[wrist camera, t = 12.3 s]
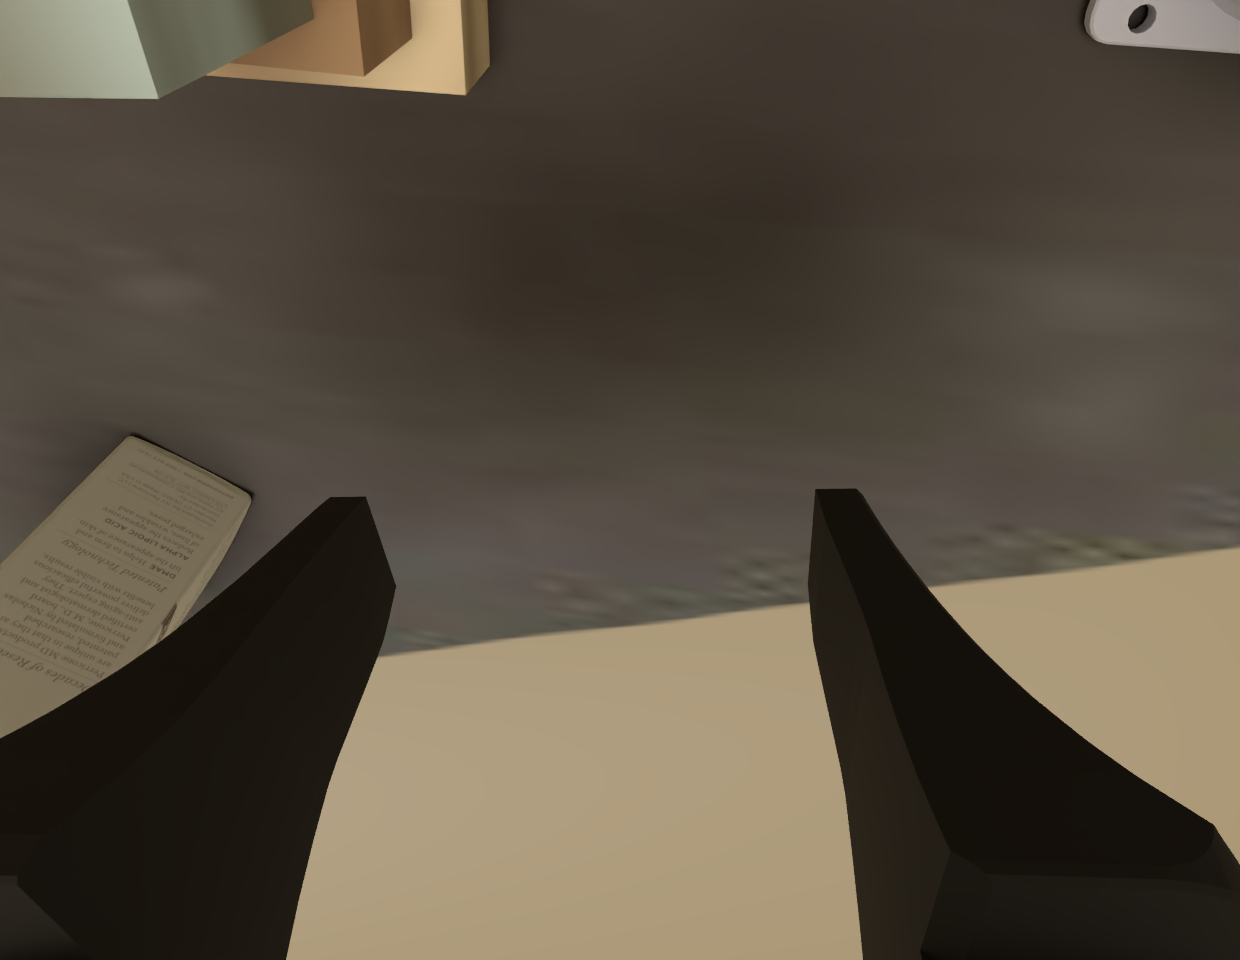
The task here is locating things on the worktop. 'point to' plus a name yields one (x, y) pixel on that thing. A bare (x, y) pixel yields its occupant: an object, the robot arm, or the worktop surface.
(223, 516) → the skincare box
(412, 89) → the birch slab
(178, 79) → the greenish gray cube
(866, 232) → the worktop surface
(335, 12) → the walnut block
